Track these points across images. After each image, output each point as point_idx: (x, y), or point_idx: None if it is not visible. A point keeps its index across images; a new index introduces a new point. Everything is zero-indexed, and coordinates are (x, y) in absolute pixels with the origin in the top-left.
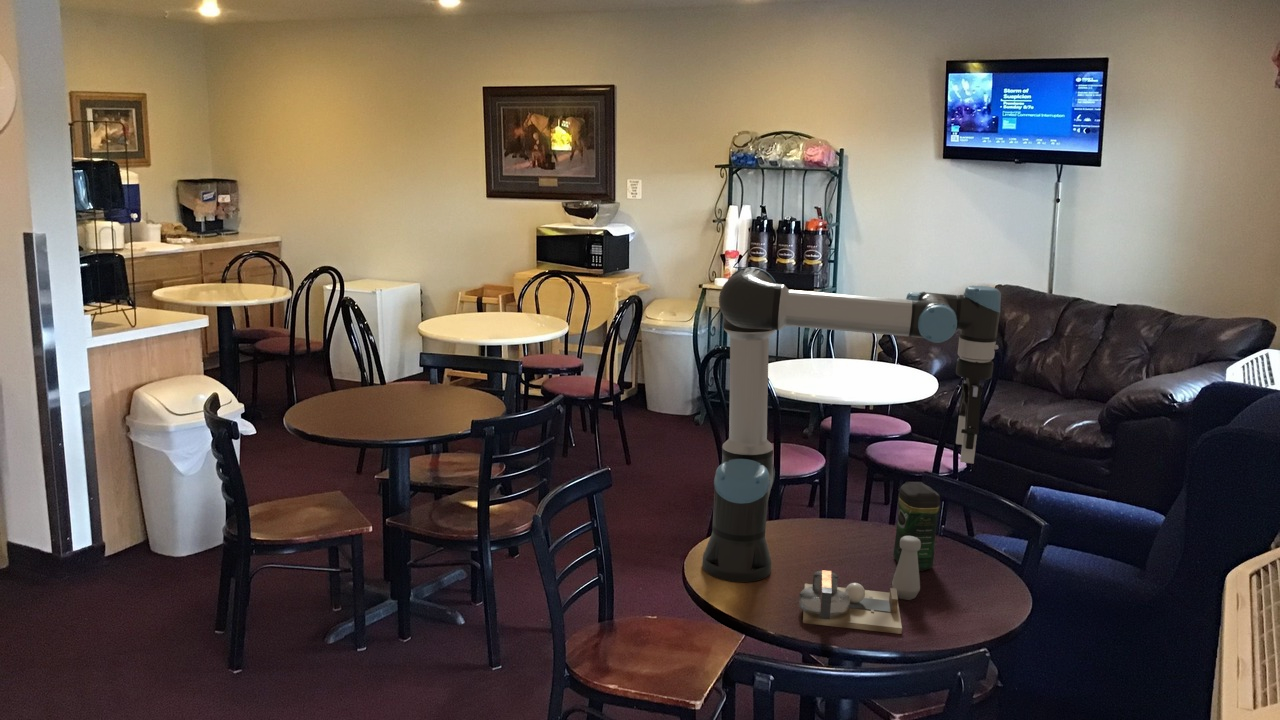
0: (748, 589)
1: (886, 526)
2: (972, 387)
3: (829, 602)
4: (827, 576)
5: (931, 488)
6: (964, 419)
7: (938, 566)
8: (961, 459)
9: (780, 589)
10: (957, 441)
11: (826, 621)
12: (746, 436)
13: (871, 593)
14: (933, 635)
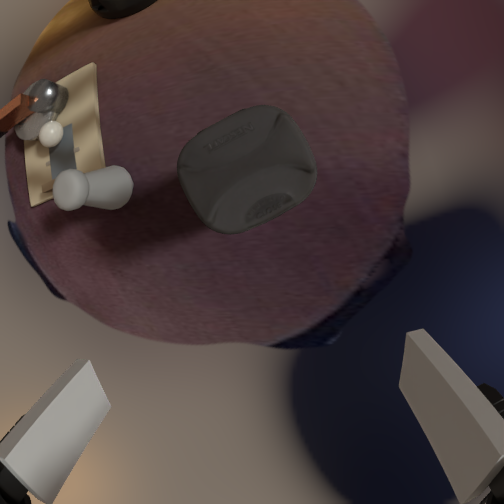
0: (82, 23)
1: (405, 124)
2: None
3: None
4: (9, 108)
5: (291, 202)
6: (472, 468)
7: None
8: (71, 368)
9: (88, 45)
10: (413, 346)
11: None
12: None
13: (90, 145)
14: (46, 240)
